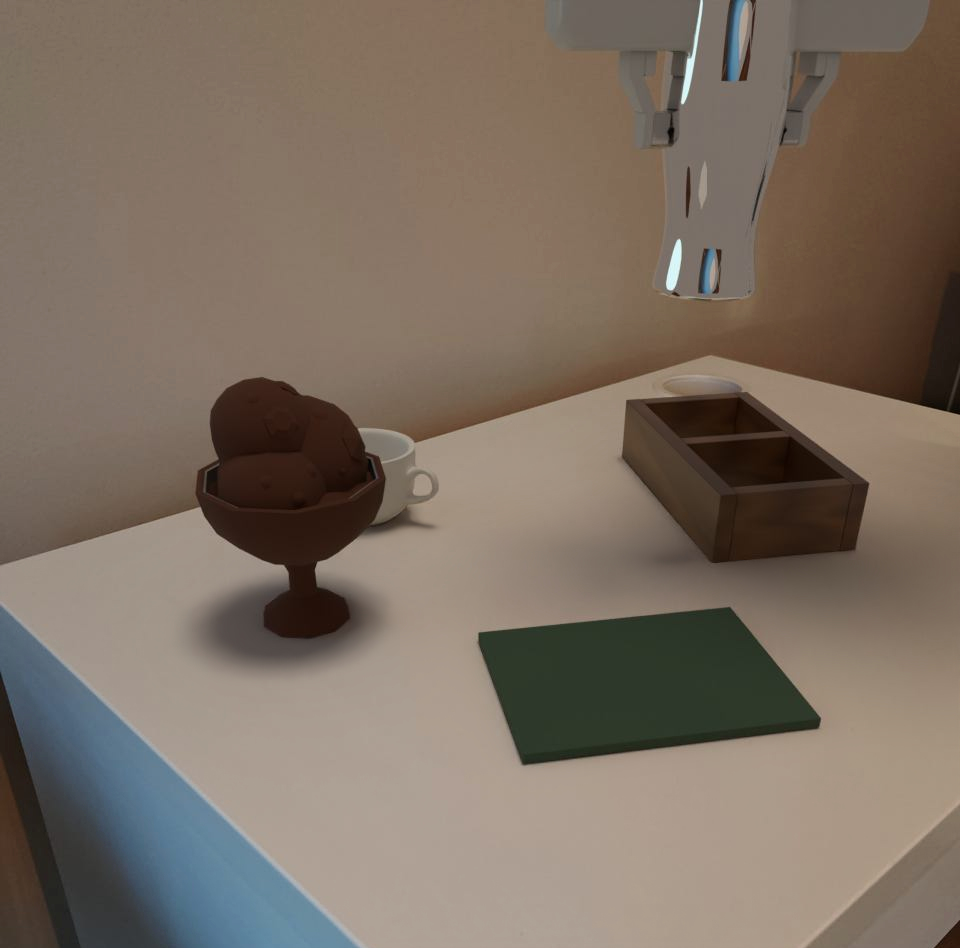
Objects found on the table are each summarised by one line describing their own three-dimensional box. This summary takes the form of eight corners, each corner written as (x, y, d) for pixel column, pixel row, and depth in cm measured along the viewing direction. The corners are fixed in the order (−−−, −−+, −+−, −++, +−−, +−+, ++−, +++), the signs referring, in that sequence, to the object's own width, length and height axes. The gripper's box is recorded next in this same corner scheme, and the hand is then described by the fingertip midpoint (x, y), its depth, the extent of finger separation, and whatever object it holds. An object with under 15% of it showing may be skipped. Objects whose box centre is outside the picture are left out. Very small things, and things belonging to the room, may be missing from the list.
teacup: (294, 524, 74) (287, 455, 71) (346, 487, 80) (341, 422, 77) (415, 548, 70) (412, 476, 68) (460, 507, 76) (459, 440, 74)
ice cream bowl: (295, 684, 56) (264, 426, 48) (183, 616, 62) (139, 380, 55) (429, 613, 63) (420, 377, 55) (315, 559, 69) (293, 341, 61)
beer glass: (624, 293, 59) (646, -8, 51) (675, 273, 64) (703, -5, 56) (734, 309, 56) (776, -11, 48) (780, 287, 61) (825, -7, 53)
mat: (729, 614, 62) (730, 606, 62) (819, 727, 52) (821, 718, 52) (478, 640, 60) (478, 632, 60) (522, 764, 50) (523, 754, 50)
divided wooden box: (739, 447, 87) (747, 391, 84) (855, 549, 70) (869, 483, 68) (621, 456, 85) (626, 399, 83) (711, 562, 69) (720, 495, 66)
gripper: (566, -188, 44) (553, 155, 52) (983, -171, 48) (915, 151, 55) (535, -165, 50) (526, 144, 57) (911, -151, 53) (858, 140, 60)
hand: (720, 147), depth 56 cm, fingers closed on beer glass, 7 cm apart
